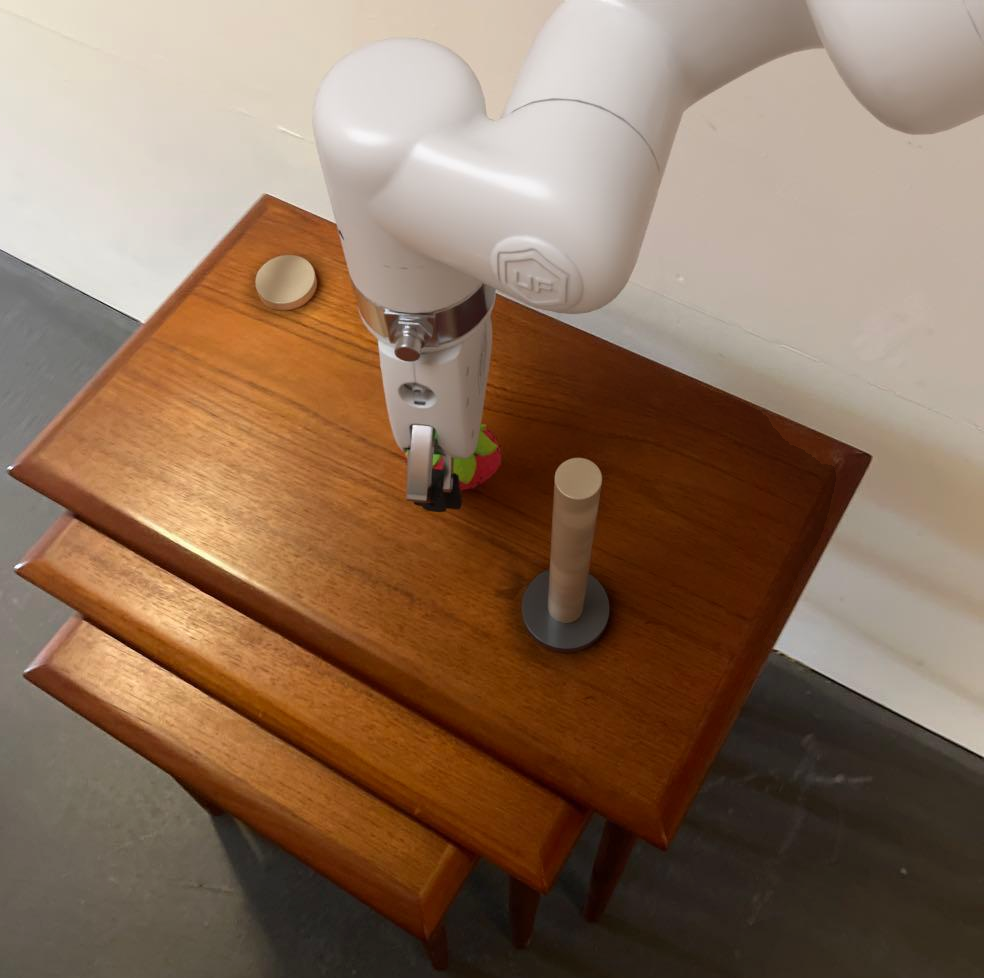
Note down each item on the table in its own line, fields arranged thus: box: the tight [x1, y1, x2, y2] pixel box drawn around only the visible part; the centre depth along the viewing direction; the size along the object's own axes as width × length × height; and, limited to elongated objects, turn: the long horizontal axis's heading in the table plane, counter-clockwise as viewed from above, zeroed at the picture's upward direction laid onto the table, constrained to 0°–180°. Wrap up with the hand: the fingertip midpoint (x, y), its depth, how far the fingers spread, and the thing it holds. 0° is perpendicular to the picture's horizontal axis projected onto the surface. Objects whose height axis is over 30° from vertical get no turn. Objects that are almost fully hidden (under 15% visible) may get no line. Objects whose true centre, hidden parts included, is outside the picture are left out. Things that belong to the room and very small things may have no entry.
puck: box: [254, 254, 318, 312], centre depth 81 cm, size 5×5×1 cm
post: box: [521, 457, 611, 654], centre depth 58 cm, size 6×6×20 cm
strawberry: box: [400, 421, 503, 491], centre depth 68 cm, size 6×7×10 cm
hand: (448, 440), depth 67 cm, fingers open, 9 cm apart
